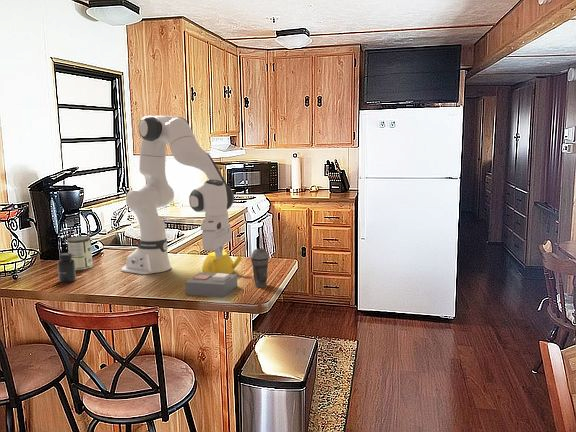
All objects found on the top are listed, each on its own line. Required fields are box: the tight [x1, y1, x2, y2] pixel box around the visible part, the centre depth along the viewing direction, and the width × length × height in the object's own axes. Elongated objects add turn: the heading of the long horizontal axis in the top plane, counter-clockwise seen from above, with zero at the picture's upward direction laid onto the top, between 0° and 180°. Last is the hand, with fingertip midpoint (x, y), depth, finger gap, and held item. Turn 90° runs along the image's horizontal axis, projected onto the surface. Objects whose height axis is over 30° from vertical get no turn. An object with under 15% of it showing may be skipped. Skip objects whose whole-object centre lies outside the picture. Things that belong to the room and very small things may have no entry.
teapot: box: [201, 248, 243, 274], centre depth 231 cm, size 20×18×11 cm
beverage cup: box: [250, 236, 270, 288], centre depth 212 cm, size 7×7×20 cm
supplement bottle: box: [57, 252, 77, 284], centre depth 225 cm, size 7×7×12 cm
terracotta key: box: [194, 275, 211, 280], centre depth 209 cm, size 5×5×2 cm
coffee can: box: [66, 235, 94, 271], centre depth 247 cm, size 10×10×14 cm
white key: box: [212, 273, 229, 281], centre depth 206 cm, size 5×5×2 cm
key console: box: [184, 272, 238, 298], centre depth 208 cm, size 16×14×5 cm
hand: (219, 256), depth 205 cm, fingers closed
